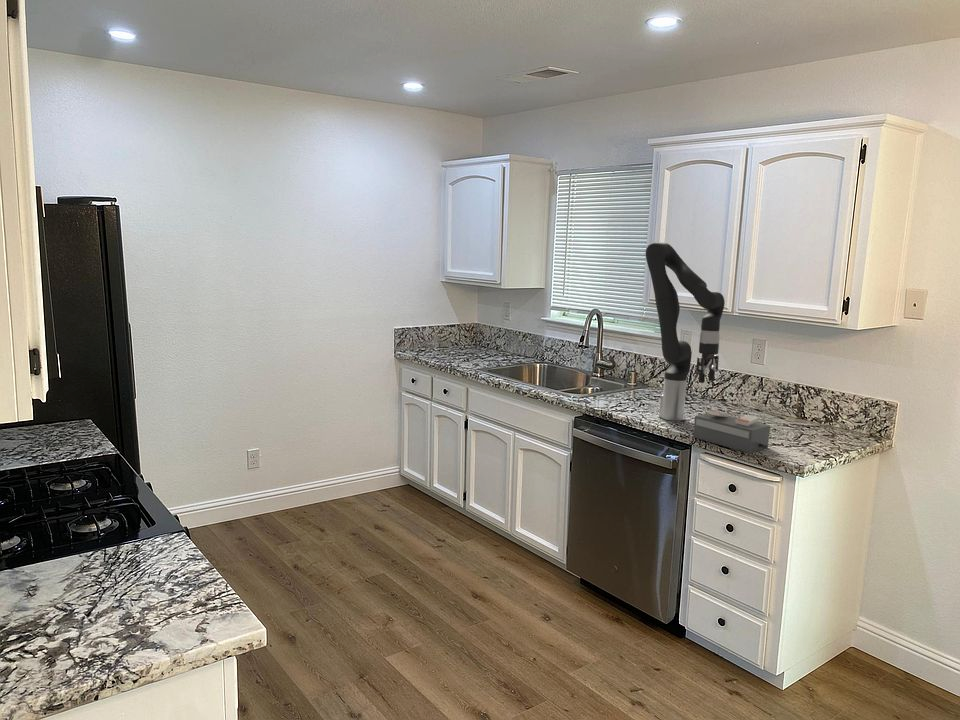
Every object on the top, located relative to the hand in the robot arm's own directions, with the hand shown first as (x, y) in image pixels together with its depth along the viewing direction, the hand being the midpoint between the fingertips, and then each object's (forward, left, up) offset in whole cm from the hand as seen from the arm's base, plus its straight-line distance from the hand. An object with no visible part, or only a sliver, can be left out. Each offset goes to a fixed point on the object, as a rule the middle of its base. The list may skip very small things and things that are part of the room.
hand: (706, 381), depth 290 cm
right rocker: (+26, -12, -9) cm, 30 cm away
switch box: (+21, -12, -19) cm, 31 cm away
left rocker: (+14, -12, -9) cm, 20 cm away
